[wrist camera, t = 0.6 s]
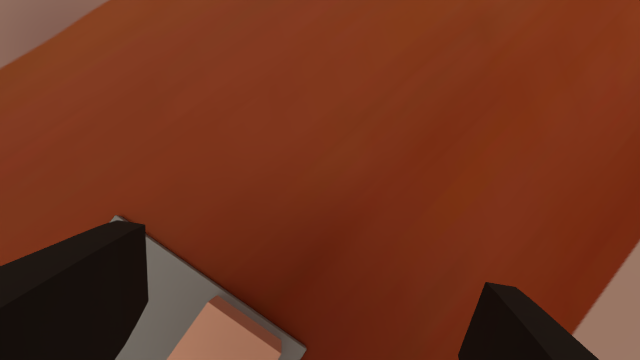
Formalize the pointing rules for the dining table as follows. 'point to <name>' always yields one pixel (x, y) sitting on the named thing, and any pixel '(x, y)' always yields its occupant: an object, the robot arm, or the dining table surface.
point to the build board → (183, 307)
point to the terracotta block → (226, 336)
